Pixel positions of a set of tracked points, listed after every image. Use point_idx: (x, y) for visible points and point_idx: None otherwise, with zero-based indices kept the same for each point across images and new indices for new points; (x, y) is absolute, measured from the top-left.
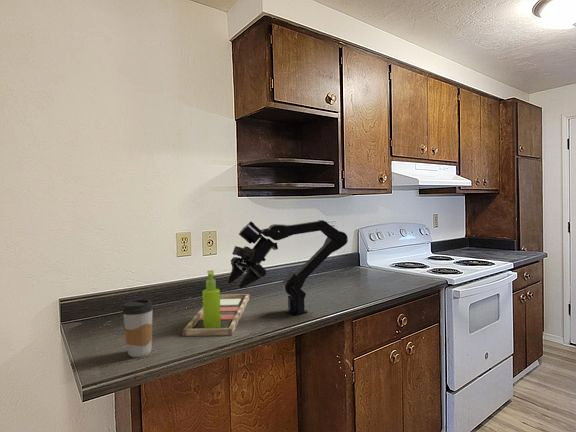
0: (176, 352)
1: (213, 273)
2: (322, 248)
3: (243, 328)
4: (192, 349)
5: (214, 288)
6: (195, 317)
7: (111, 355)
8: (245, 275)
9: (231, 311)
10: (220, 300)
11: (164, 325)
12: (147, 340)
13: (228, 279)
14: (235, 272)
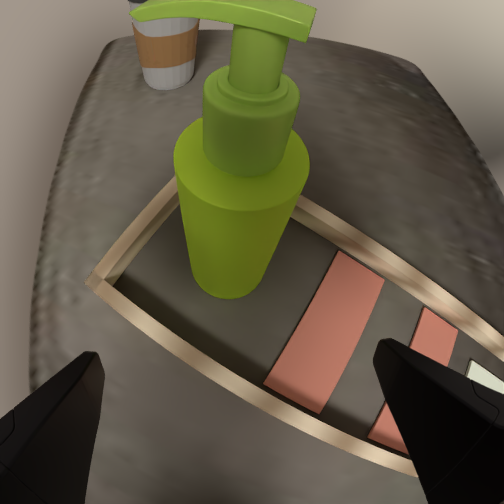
0: (106, 125)
1: (139, 8)
2: None
3: (128, 366)
4: (90, 155)
5: (205, 149)
6: (325, 217)
7: (198, 52)
8: (7, 446)
9: (384, 405)
10: (502, 384)
11: (340, 149)
12: (140, 58)
13: (408, 349)
14: (461, 445)
